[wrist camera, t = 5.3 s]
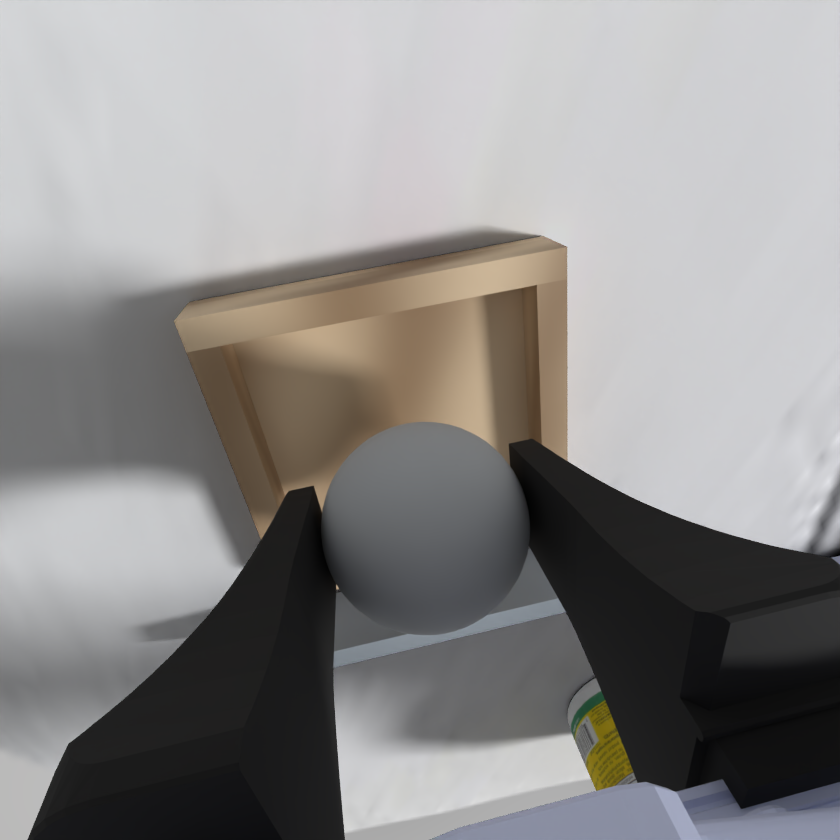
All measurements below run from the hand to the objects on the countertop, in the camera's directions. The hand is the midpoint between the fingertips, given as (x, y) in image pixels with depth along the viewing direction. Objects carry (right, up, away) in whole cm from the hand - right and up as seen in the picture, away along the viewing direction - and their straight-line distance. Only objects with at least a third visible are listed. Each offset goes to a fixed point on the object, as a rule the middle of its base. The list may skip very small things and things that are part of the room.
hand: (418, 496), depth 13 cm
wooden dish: (-1, +2, +3) cm, 4 cm away
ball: (0, +1, +1) cm, 2 cm away
